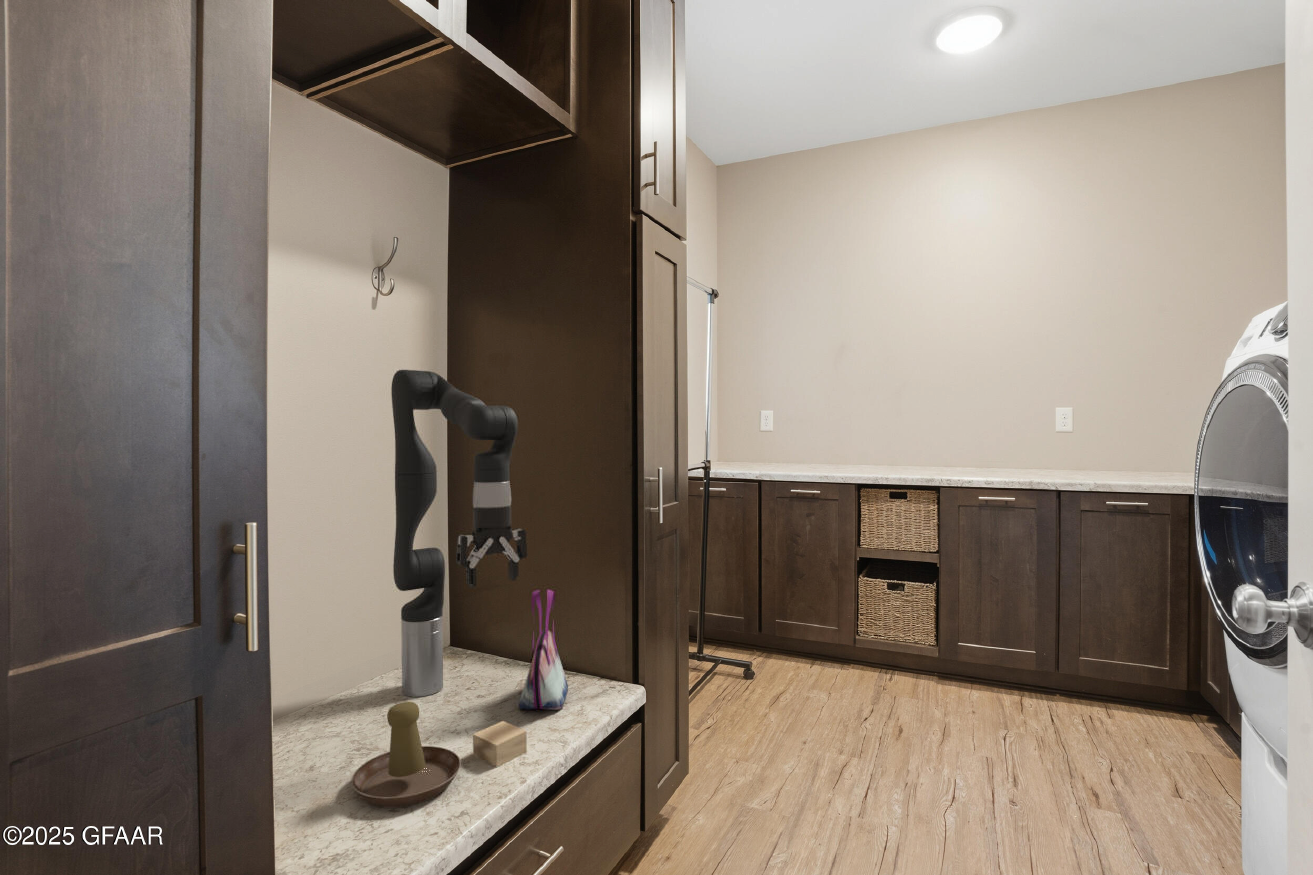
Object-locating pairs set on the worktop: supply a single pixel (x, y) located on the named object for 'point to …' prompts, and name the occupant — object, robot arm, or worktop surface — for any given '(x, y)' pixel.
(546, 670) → the handbag
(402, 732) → the olive green pawn
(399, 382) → the robot arm
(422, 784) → the plant saucer
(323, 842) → the worktop surface
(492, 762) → the oak base block
